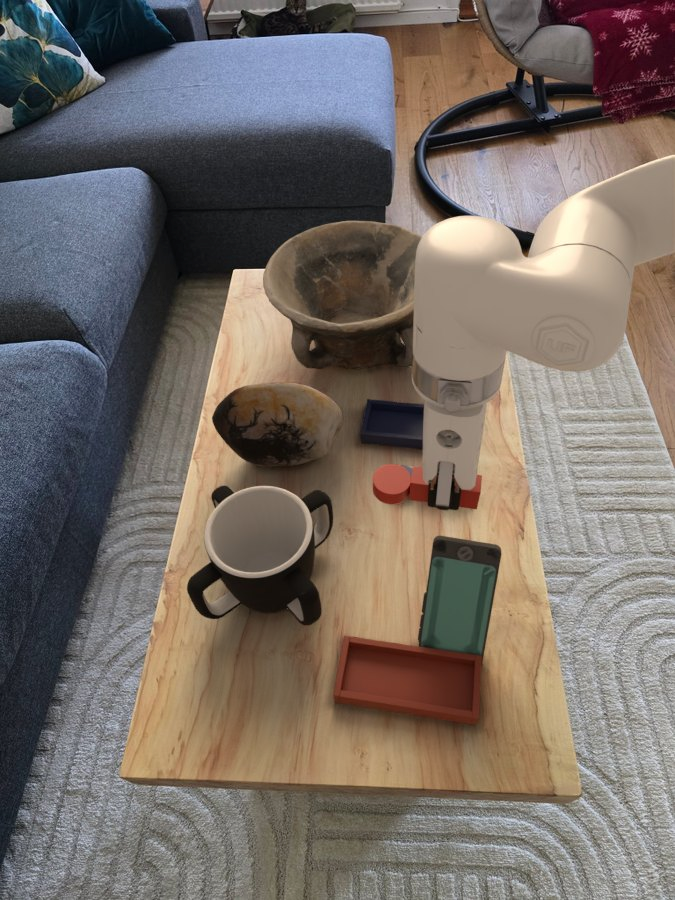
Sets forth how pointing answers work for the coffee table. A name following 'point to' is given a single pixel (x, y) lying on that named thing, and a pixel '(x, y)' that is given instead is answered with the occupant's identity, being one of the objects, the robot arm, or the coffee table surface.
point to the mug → (263, 552)
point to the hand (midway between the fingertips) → (444, 494)
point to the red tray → (409, 679)
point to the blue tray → (393, 424)
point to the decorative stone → (278, 423)
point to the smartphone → (459, 595)
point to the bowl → (347, 293)
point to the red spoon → (413, 486)
